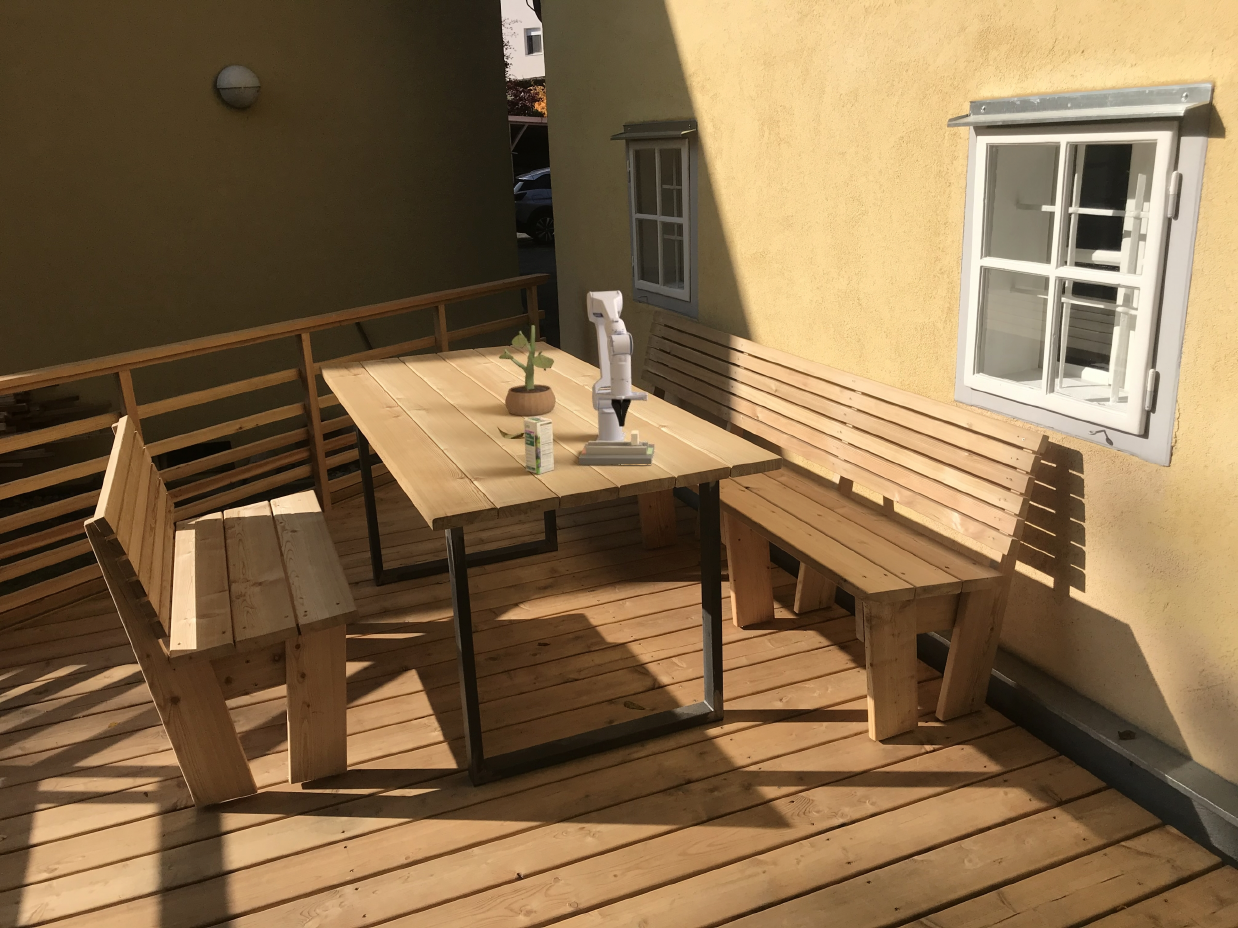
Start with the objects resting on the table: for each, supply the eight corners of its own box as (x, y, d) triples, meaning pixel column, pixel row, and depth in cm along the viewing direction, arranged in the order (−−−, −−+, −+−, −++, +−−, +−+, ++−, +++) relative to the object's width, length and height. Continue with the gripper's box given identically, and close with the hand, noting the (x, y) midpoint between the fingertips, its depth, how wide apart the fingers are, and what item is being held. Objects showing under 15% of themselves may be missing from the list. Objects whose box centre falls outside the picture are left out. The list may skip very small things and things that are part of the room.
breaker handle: (628, 448, 279) (628, 430, 277) (642, 448, 278) (642, 430, 277) (627, 452, 276) (627, 433, 274) (641, 452, 275) (641, 433, 273)
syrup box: (525, 470, 269) (522, 419, 264) (541, 465, 273) (539, 415, 268) (538, 475, 265) (535, 422, 261) (555, 470, 269) (552, 418, 264)
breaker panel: (585, 450, 286) (585, 437, 285) (654, 450, 284) (654, 437, 282) (579, 465, 272) (578, 451, 271) (651, 465, 270) (650, 451, 269)
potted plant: (496, 408, 337) (491, 321, 328) (547, 403, 343) (542, 317, 334) (515, 424, 317) (510, 331, 308) (568, 417, 323) (564, 326, 314)
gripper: (592, 381, 268) (594, 429, 272) (645, 381, 267) (646, 429, 271) (595, 375, 275) (597, 422, 279) (647, 375, 273) (648, 422, 277)
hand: (621, 425), depth 275 cm, fingers closed
